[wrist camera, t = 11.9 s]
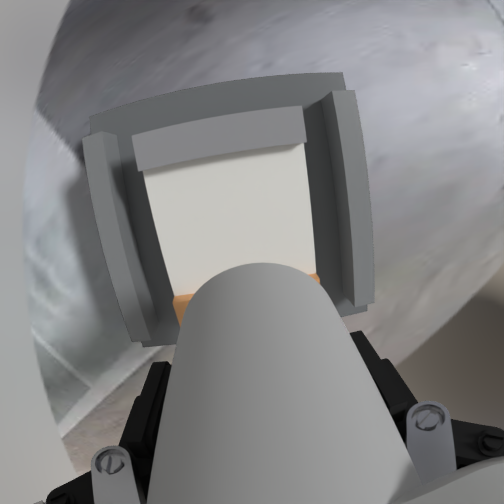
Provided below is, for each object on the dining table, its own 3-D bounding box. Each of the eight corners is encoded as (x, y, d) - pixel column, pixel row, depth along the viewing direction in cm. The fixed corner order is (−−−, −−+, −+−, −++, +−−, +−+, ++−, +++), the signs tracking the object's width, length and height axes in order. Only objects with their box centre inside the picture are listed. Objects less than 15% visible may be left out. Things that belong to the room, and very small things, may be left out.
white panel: (141, 135, 16) (131, 135, 14) (293, 108, 16) (301, 105, 14) (184, 312, 20) (180, 328, 19) (313, 291, 21) (320, 306, 19)
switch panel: (105, 122, 20) (72, 111, 15) (330, 83, 20) (355, 61, 15) (151, 329, 25) (134, 365, 20) (354, 296, 25) (380, 325, 20)
